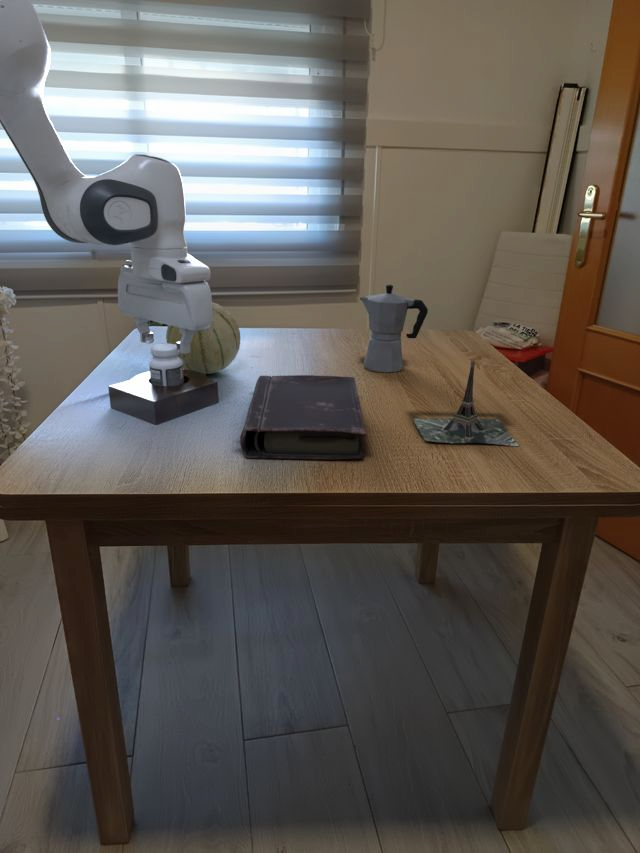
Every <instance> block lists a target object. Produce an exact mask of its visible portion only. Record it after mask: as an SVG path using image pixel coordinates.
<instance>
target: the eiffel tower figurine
mask: <svg viewBox="0 0 640 853" xmlns="http://www.w3.org/2000/svg"><path fill="white" fill-rule="evenodd" d="M475 366H476V361H475V357H473V359H472V361H470V369H469V372H468V378H467V382H466V387H465V390H464V394H463V398H462V400H461V404H460V406H459V408H458V411H456V413H454V414H453V417H452V418H451V417H429V418H427V417H425V418H412V420H413V423H414V424H415V426H416V428H417V430H418V431H419V433H420V435H421V436H422V438H423V440H424V441H427V442H434V443H443V444H444V443H445V444H470V445H472V444H488V445H489V444H491V445H501V446H510V447H520V445H519V444H518V442H517V441H516V439H515V438H514V437H513V436H512V434H510V433H509V431H508V430H507V429H506V427H504V425H503V424H502V423H501V421H500V419H498V418H478V414H477V413H476V411H475V410H476V409H475V405H474V403H475V401H474V398H473V397H474V396H473V394H474V376H475Z"/></svg>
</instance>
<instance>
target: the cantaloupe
mask: <svg viewBox="0 0 640 853" xmlns="http://www.w3.org/2000/svg"><path fill="white" fill-rule="evenodd" d="M181 337H182V334H180V329H179V327H176V326H171V325H167V328H166V334H165V339H166V340H165V341H166V344H175V345H176V342H180V340H181ZM240 347H241V331H240V327H239V325H238V323H237V321H236V319H235V317H234V315H232V314H231V313H230V311H229V310H227V309H226V307H223V306H222V305H220V304H218V303H216V302H214V301H212V323H211V325H210V326H209V328H207V329H203V330H198V331H195V334H194V336H193V338H192V341H191V342H190V352H189V353H186V354H182V353H179V354H178V357H179V358H180V359H181V360H182V362H183V369H186V370H193V371H197V372H200V373H202V374H204V375H207V374H208V375H211V374H215V373H219V372H221V371H223V370H224V369H226V368H227V367H228V366H230V365H231V364H232V362H233V361H234V360H236V357H237V355H238V353H239V351H240Z"/></svg>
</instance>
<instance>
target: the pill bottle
mask: <svg viewBox="0 0 640 853" xmlns="http://www.w3.org/2000/svg"><path fill="white" fill-rule="evenodd" d="M150 354H151V356H152V358H151V359H150V361H149V364H148V365H149V371H150V378H151V384H153V385H157V386H176V385H181V384H184V375H183V362H182V360H181V359H180V358H179V357H178V354H179V352H177V346H176V345H175V344H167V343H157V344H153V345H151V346H150Z"/></svg>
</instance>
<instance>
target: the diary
mask: <svg viewBox="0 0 640 853" xmlns="http://www.w3.org/2000/svg"><path fill="white" fill-rule="evenodd" d="M360 403H361V402H360V396H359V392H358V387H357V383H356V378H355V376H339V375H338V376H337V375H312V374H311V375H309V374H300V375H299V374H296V375H295V374H294V375H293V374H292V375H259V376H258V378H257V380H256V382H255V386H254V390H253V394H252V398H251V401H250V404H249V407H248V409H247V414H246V419H245V422H244V425H243V429H242V431H241V434H240V436H239V438H240V439H239V441H240V444H239V445H240V448H241V451H242V455H243V456H244V457H245V458H247V459H249V458H251V459H253V458H255V459H259V458H261V459H289V460H291V459H292V460H294V459H296V460H326V461H327V460H328V461H331V460H359V459H361V458H365V457H366V455H365V453H364V447H363V443H362V439H361V438H362V437H361V436H364V437H366V436H367V431H366V425H365V422H364V416H363V412H362V408H361V404H360Z"/></svg>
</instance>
